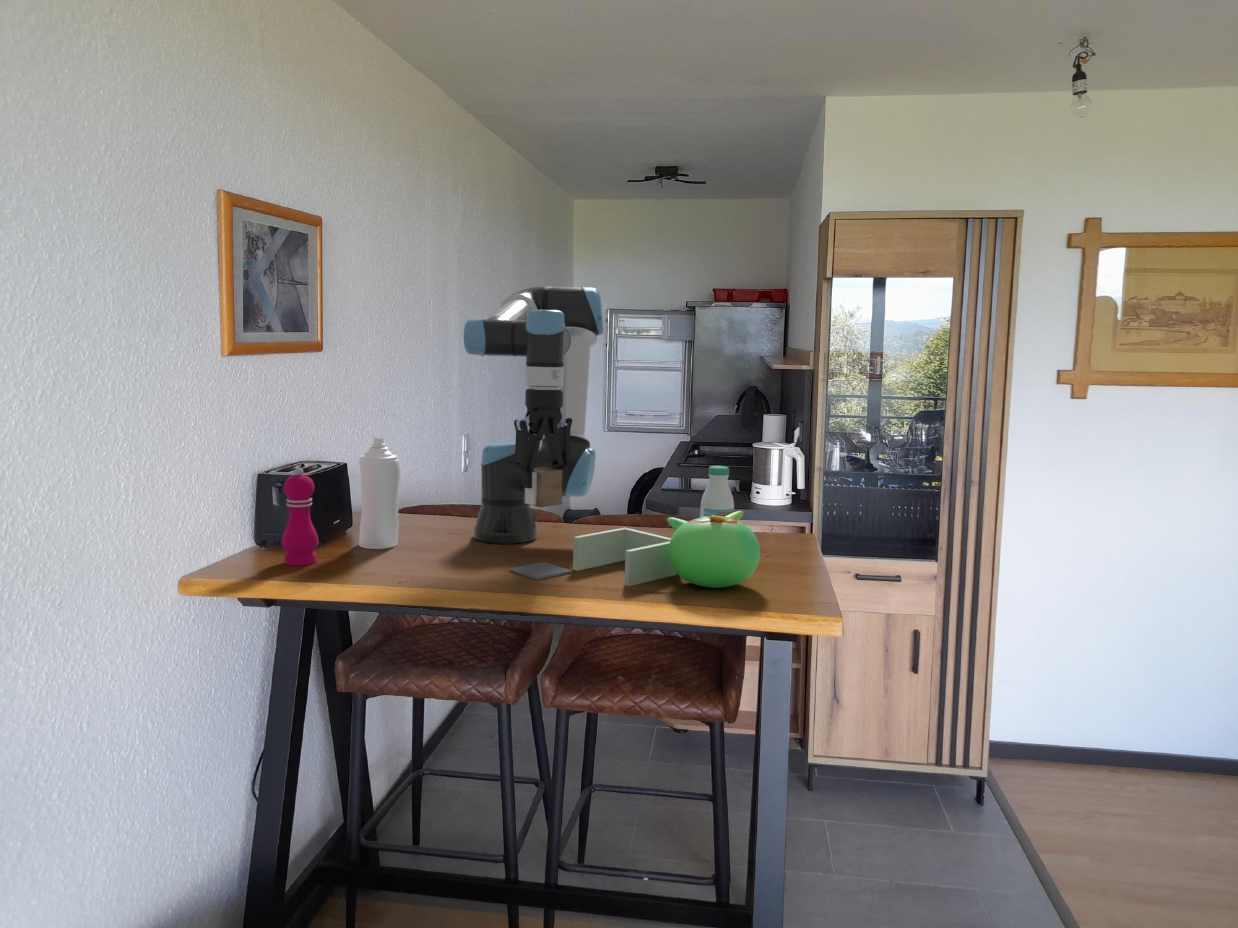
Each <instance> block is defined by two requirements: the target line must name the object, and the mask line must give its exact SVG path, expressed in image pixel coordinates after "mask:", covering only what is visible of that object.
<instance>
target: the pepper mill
mask: <svg viewBox="0 0 1238 928" xmlns="http://www.w3.org/2000/svg"><path fill="white" fill-rule="evenodd" d="M293 472H294V473H293V474H294V475H290V476H289V477H288V478H286V479H285V481H284V484H283V493H284V494H285V495H286V496H287V498H286V506H287V507H288V510H289V515H288V516H289V519H288V522H287V525H286V528H285V530H284V532H283V534H282V538H281V547H282V548H283V549H284V550H285V552H287V553H285V554H284V563H285V565H287V566H290V567H291V566H292V567H302V566H305V567H306V566H311V565H313V564H316V563H317V558H318V557H317V552H315V550H316V548H317V547H318V546H319V543H320V542H319V540H320V539H319V536H318V533H317V530H316V529H315V526H314V524H313V522H312V520H311V513H310V512H311V506H312V505H313V498H312V497H311V496H312V495H313V494H314V492H315V483H314V480H313V479H312V478H311V477H309V476H307V475H305V474H304V469H303V468H301V467H295V469H294V470H293Z"/></svg>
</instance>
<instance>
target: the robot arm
mask: <svg viewBox="0 0 1238 928" xmlns="http://www.w3.org/2000/svg"><path fill="white" fill-rule="evenodd" d="M463 327H464V329H463V347H464V349H465V352H466V353H467V354H469V355H473V356H480V357H485V356H490V357H491V356H493V357H494V356H499V357H503V356H504V357H525V358H526V359H525V360H526V361H525V381H524V382H525V386H526V387H527V388H526V389H525V391H524V392H525V398H524V400H525V401H524V403H525V404H524V405H525V407H526V410H527V411H526V414H525V416H524V418H521V419H514V421H513V424H514V429H515V440H506V441H503V440H502V441H498V442H494V443H493V442H492V443H488V444H487V445H485V447H483V449H482V451H481V453H482V455H481V463H480V466H481V503H480V504H481V505H480V509H479V512H478V514H477V517H476V522H475V525H474V527H473V538H474V539H475V540H476V541H477V540H478V541H480V542H483V543H488V544H490V543H491V544H501V545H502V544H505V545H506V544H521V543H527V542H531V541H532V542H533V541H534V540H536V539H537V538H538V527H537V525H536V520H535V516H534V513H533V509H532V507H531V506H533V505H536V496H537V473H536V472H533V471H534V468H541V467H547V468H552V469H558V470H562V498H567V499H568V498H571V497H574V498H575V497H580V498H581V497H585V496H586V495H587V494H588V492H590V489H591V486H592V482H593V478H594V472H595V466H596V465H595V464H596V460H597V459H596V458H597V457H596V454H597V453H596V449H594V448H592V447H591V441H590V440H589V439H588V438H587V437H586V435H585V432H586V418H587V417H586V416H587V403H588V402H587V401H588V388H589V387H588V385H589V374H590V373H589V372H590V360H591V359H590V357H591V347H593V346H594V345H595V344H596V343H597V341H598V336H602V335H603V334H604V333H605V332H604V317H603V307H602V298H601V292H600V291H599V290H598V289H597V288H595V287H585V286H583V285H582V286H579V287H578V286H577V287H576V286H574V287H573V286H548V285H547V286H545V285H540V286H539V285H538V286H532V287H528V288H525V289H521V290H519V291H517V292H514V293H512V294H510V295H509V296H507V297H506V298H505V299H504V300H503V301H502V303H501V305H500V307H499V309H498V310H496V311H494V313H493V314H492V315H490V316H489V317H488V318H486V319H482V318H475V319H468V320H467V321H466V322H465V324H464V326H463ZM540 445H541V446H540ZM524 488H525V503H527V504H524ZM528 504H531V505H528Z"/></svg>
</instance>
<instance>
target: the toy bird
mask: <svg viewBox="0 0 1238 928" xmlns="http://www.w3.org/2000/svg"><path fill="white" fill-rule="evenodd" d="M743 515H744V511H743V510H737V511H734V513H731V514H729V515H727V516H725V517H722V516H710V517H708V516H704V517H700V516H699V517H697V518H694V519H691V520H686V519H685V520H684V519H680V518H676V517H671V516H669V517H667V519H666V521H667V523H668V524H669V525H670V526H671V527H672V529H674V530H675V531H674V533H673V534H672V536H671V537H670V538H671V540H670V543H669V559H670V562H671V565H672V567H673V569H674V570H675V572H676V573H677V575H678V576H679V577H680V578H681V579H683V580H684V581H685V582H686V581H687V583H689V584H693V585H696V586H699V587H703V588H704V587H705V588H710V589H711V588H712V589H713V588H714V589H717V588H726V587H727V588H728V587H732V586H735V585H738V584H741V583H742V582H745V581H747V580H748V578H750V577H751V576H752V575H753V574H754V573H755V571H756V569H758V566H759V563H760V559H761V546H760V543H759V540H758V538H757V535H756V534H755V533H754V532H753V531H752V529H751V528H750V527H748V526H747V525H746V524H744V523H742V522H740V519H741V518H742V517H743Z"/></svg>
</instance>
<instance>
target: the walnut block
mask: <svg viewBox="0 0 1238 928" xmlns="http://www.w3.org/2000/svg"><path fill="white" fill-rule="evenodd" d="M533 472H536V473H537V496H536V505H531V504H528V505H530V506H534V507H538V508H545V507H551V506H552V507H553V506H559V505H563V504H562V503H563V501H562V500H563V497H562V470H558V469H552V468H547V467H541V468H534V471H533ZM524 504H527V503H525V488H524Z"/></svg>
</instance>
